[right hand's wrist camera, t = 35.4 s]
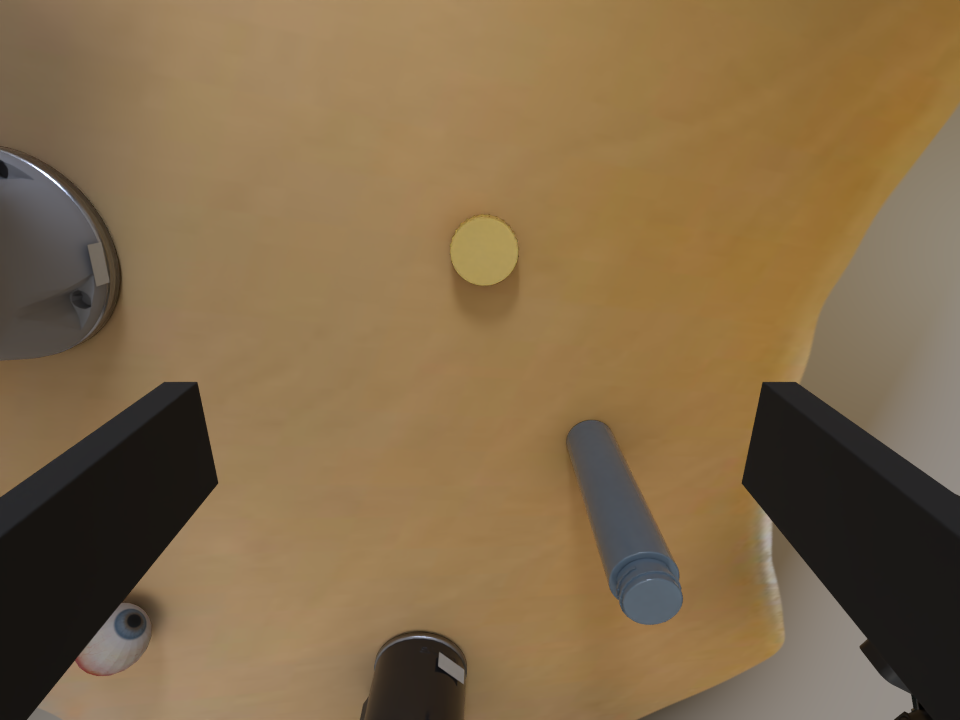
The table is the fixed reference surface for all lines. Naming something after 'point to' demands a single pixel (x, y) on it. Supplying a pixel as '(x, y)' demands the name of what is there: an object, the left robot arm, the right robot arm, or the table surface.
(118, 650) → the eyeball
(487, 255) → the lid
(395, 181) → the table surface
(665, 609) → the bottle
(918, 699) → the right robot arm
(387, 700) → the left robot arm
